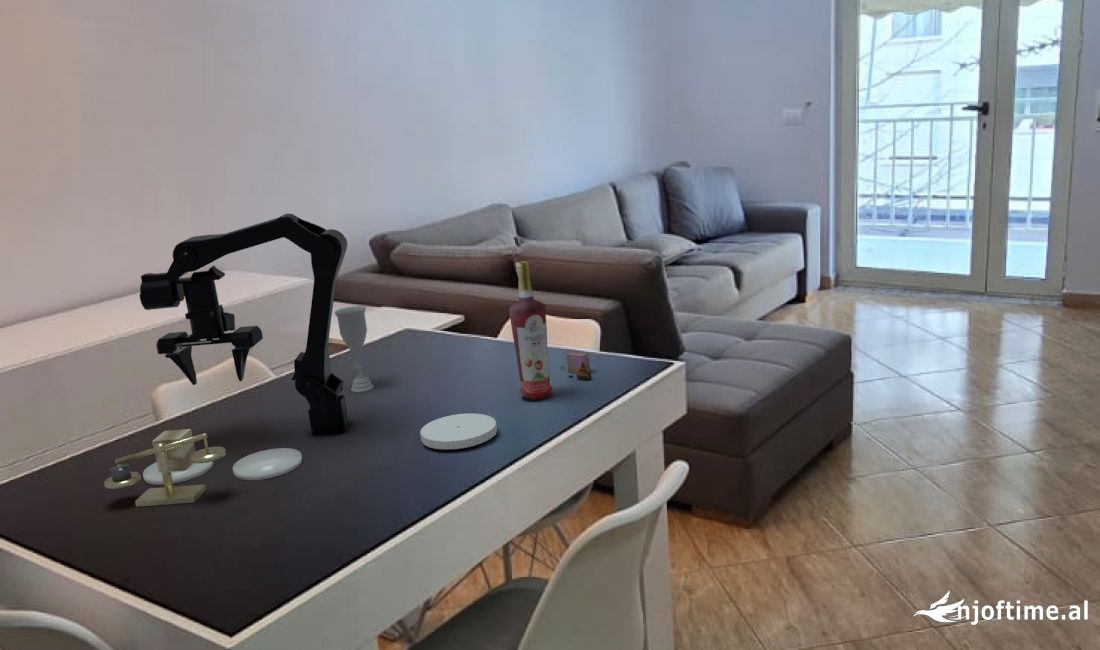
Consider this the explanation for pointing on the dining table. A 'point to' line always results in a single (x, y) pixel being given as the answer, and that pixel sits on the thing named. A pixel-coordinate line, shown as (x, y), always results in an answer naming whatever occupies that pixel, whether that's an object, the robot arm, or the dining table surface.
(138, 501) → the balance
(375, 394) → the dining table surface
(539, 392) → the liquor
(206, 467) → the pale round disc
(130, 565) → the dining table surface
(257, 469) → the shallow white plate
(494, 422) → the plastic lid
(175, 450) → the block
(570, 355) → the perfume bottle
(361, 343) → the chalice
